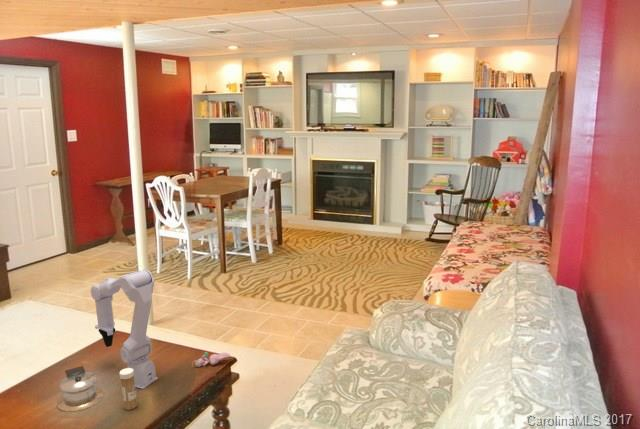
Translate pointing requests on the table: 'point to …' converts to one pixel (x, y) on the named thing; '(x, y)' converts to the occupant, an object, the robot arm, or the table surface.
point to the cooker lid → (77, 380)
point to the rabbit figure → (210, 359)
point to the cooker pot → (80, 399)
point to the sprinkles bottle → (128, 388)
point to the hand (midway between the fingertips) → (108, 345)
